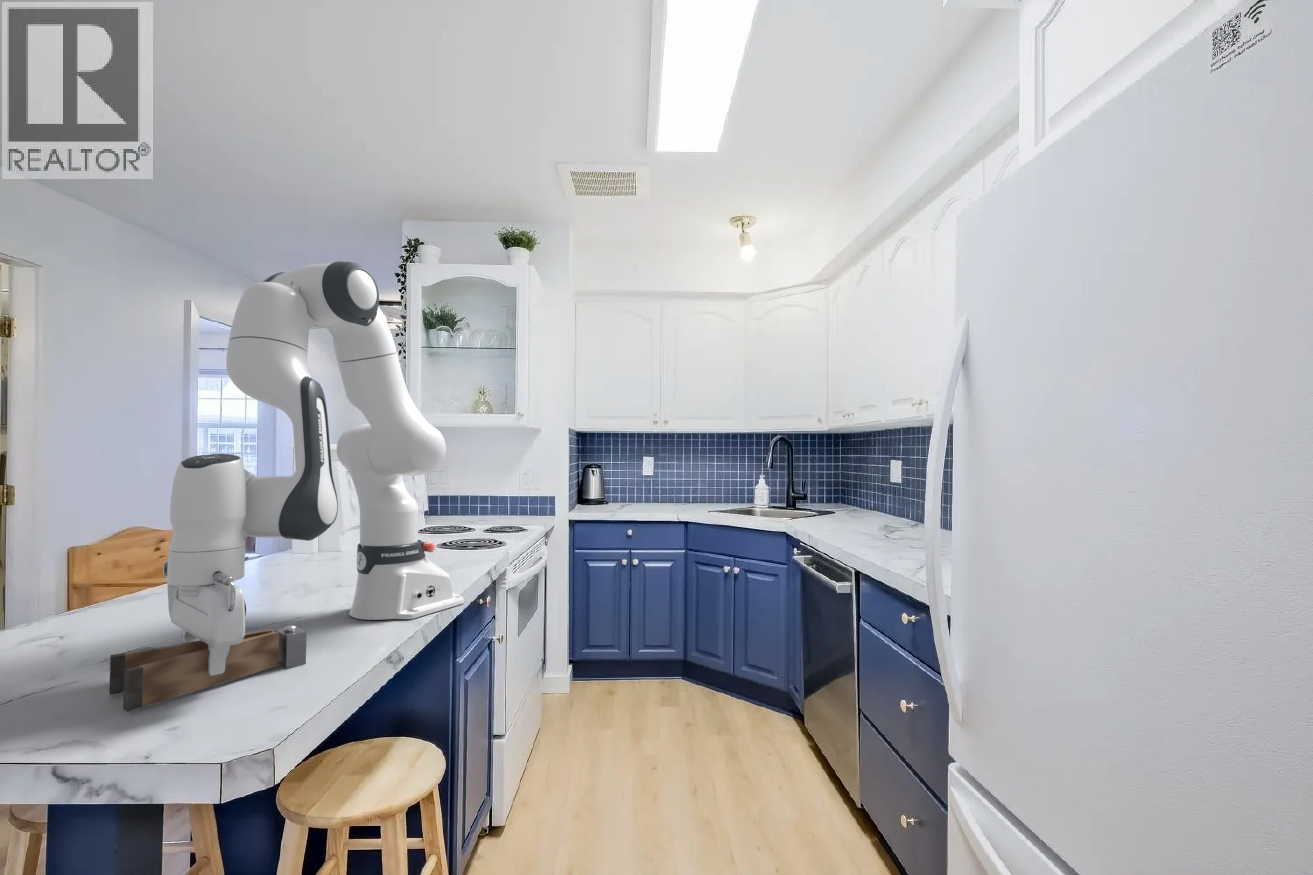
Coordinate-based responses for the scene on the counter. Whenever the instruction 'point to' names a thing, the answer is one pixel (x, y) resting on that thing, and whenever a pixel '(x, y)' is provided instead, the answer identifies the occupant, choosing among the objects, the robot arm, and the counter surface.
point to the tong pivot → (291, 646)
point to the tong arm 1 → (154, 658)
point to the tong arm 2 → (196, 671)
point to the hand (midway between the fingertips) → (204, 665)
